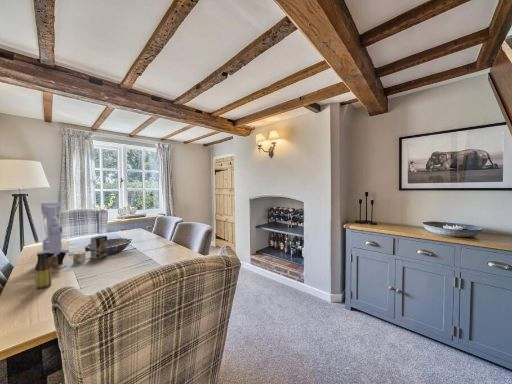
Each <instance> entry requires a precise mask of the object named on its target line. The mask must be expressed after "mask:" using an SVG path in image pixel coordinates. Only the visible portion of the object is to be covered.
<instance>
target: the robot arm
mask: <svg viewBox="0 0 512 384" xmlns="http://www.w3.org/2000/svg"><path fill="white" fill-rule="evenodd" d="M40 209H41V215H43V216H45V218H46V231H47V233H46V234H47V237H46V238H45V239H43V241H42V245H41V246H42V247H41V248H42V251H41V252H45V251H46V252H47V260H48V261H49V259H48V257H51V256H53V255H57V257H58V263H59V264H62V262H64V259H65V256H66V254H68V253H69V252H70V251H69V249H63V248H62V245H63V243H62V234H63V226H62V224H61V222H60V219H59V217H57V215H58V214H59V213H60V212H61V211H60V210H61V202H57V201H56V202H42V203H41V205H40Z"/></svg>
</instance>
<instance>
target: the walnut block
mask: <svg viewBox="0 0 512 384" xmlns="http://www.w3.org/2000/svg"><path fill="white" fill-rule="evenodd" d="M48 259H49V262H50V267H51V268H58V267H60V266H62V265H63V262H64V261H63V262H62V264H59V263H58V257H57V255H53V256H51V257H48Z"/></svg>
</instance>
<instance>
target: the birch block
mask: <svg viewBox="0 0 512 384" xmlns="http://www.w3.org/2000/svg"><path fill="white" fill-rule="evenodd" d="M72 260H73V264H81V263H83V262H85V260H86V251H76V252H75V253H73V254H72Z"/></svg>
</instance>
